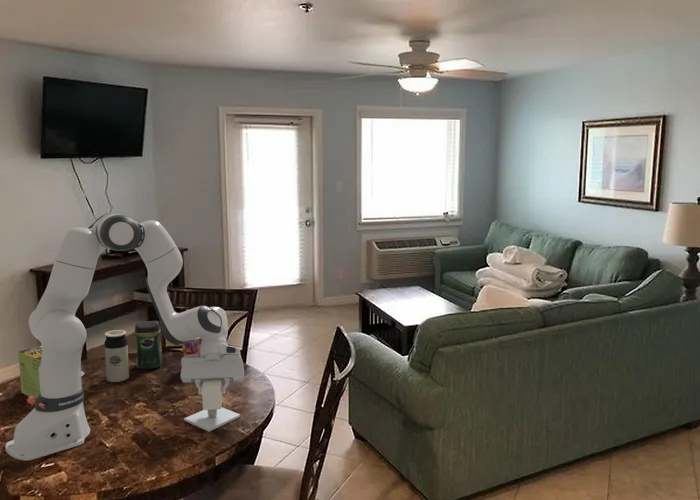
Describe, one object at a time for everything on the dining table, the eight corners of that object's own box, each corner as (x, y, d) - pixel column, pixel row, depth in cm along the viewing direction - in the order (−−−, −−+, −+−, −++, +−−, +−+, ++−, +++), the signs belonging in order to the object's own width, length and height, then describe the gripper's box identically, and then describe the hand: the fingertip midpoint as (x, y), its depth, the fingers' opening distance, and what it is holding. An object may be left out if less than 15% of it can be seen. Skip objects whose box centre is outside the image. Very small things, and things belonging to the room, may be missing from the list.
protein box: (44, 404, 197) (41, 360, 194) (20, 393, 205) (17, 351, 202) (73, 393, 205) (70, 351, 203) (49, 383, 214) (46, 343, 211)
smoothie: (198, 363, 236) (197, 316, 233) (207, 369, 229) (206, 320, 226) (178, 368, 231) (177, 319, 227) (187, 374, 224) (186, 324, 221)
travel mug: (112, 374, 223) (109, 329, 220) (132, 374, 223) (130, 329, 220) (102, 382, 215) (100, 335, 212) (123, 383, 215) (121, 336, 212)
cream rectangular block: (220, 409, 185) (220, 386, 183) (202, 410, 184) (201, 387, 182) (222, 401, 190) (221, 380, 189) (204, 402, 189) (203, 380, 188)
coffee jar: (163, 362, 237) (161, 318, 234) (160, 369, 229) (159, 323, 226) (138, 363, 235) (136, 319, 232) (135, 370, 227) (132, 325, 224)
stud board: (208, 431, 179) (208, 414, 178) (184, 420, 186) (183, 403, 185) (240, 416, 189) (240, 400, 188) (215, 406, 196) (215, 390, 195)
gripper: (180, 350, 189) (177, 391, 181) (243, 348, 192) (243, 388, 184) (182, 358, 194) (179, 398, 187) (244, 356, 197) (244, 395, 190)
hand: (211, 393), depth 186 cm, fingers closed on cream rectangular block, 6 cm apart
